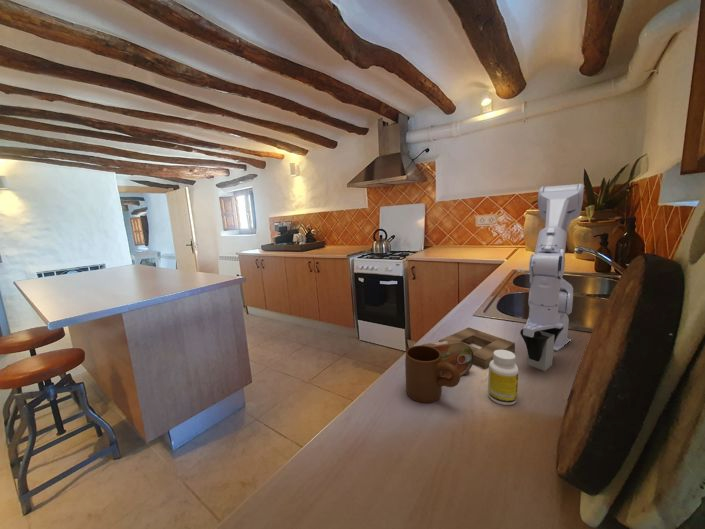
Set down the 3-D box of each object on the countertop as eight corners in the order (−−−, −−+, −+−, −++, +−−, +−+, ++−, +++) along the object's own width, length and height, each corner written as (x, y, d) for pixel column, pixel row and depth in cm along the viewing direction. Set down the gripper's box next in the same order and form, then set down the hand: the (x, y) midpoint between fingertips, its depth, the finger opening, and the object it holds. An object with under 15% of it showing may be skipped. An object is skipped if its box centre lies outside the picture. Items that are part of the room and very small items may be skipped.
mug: (468, 400, 60) (469, 359, 58) (449, 420, 55) (450, 374, 53) (418, 378, 68) (418, 341, 67) (398, 393, 63) (397, 353, 62)
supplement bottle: (521, 407, 57) (523, 361, 55) (491, 404, 58) (493, 360, 56) (511, 390, 62) (514, 348, 60) (484, 388, 63) (486, 347, 62)
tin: (414, 383, 67) (413, 350, 65) (409, 376, 70) (408, 343, 68) (474, 374, 69) (475, 341, 67) (467, 367, 72) (467, 336, 70)
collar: (468, 334, 90) (468, 327, 89) (514, 351, 78) (515, 342, 78) (438, 348, 82) (438, 340, 82) (485, 369, 71) (485, 360, 70)
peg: (534, 358, 74) (536, 329, 73) (552, 365, 71) (554, 334, 69) (526, 364, 72) (528, 334, 70) (544, 370, 69) (547, 339, 67)
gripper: (549, 314, 61) (544, 373, 64) (576, 299, 69) (571, 352, 72) (515, 306, 67) (512, 360, 69) (543, 293, 75) (540, 342, 77)
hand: (540, 355), depth 71 cm, fingers open, 5 cm apart
